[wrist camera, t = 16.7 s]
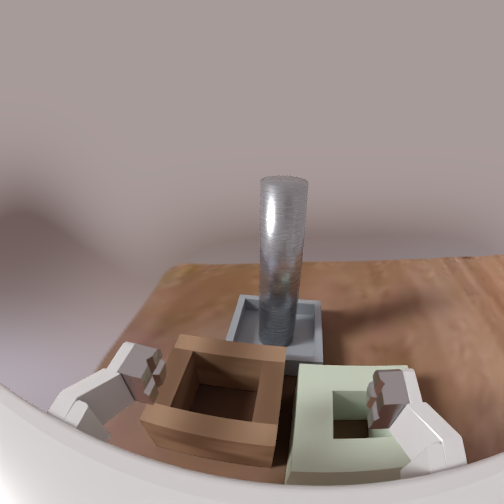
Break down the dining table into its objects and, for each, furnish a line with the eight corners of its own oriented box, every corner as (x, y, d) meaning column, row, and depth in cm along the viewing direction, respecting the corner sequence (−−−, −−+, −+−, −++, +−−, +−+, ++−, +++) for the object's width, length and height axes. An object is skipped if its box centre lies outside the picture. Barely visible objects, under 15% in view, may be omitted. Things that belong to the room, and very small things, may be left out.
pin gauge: (294, 326, 27) (307, 177, 20) (292, 350, 24) (308, 188, 17) (260, 323, 27) (263, 174, 21) (256, 346, 24) (257, 185, 18)
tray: (317, 316, 29) (320, 300, 28) (319, 377, 22) (323, 362, 21) (240, 309, 30) (240, 294, 29) (223, 368, 23) (221, 352, 22)
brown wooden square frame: (282, 379, 22) (286, 346, 20) (271, 467, 15) (275, 446, 13) (187, 366, 23) (180, 333, 21) (156, 445, 16) (139, 419, 14)
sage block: (389, 396, 19) (407, 365, 17) (400, 483, 12) (428, 462, 10) (293, 395, 20) (299, 363, 19) (283, 488, 13) (290, 471, 12)
